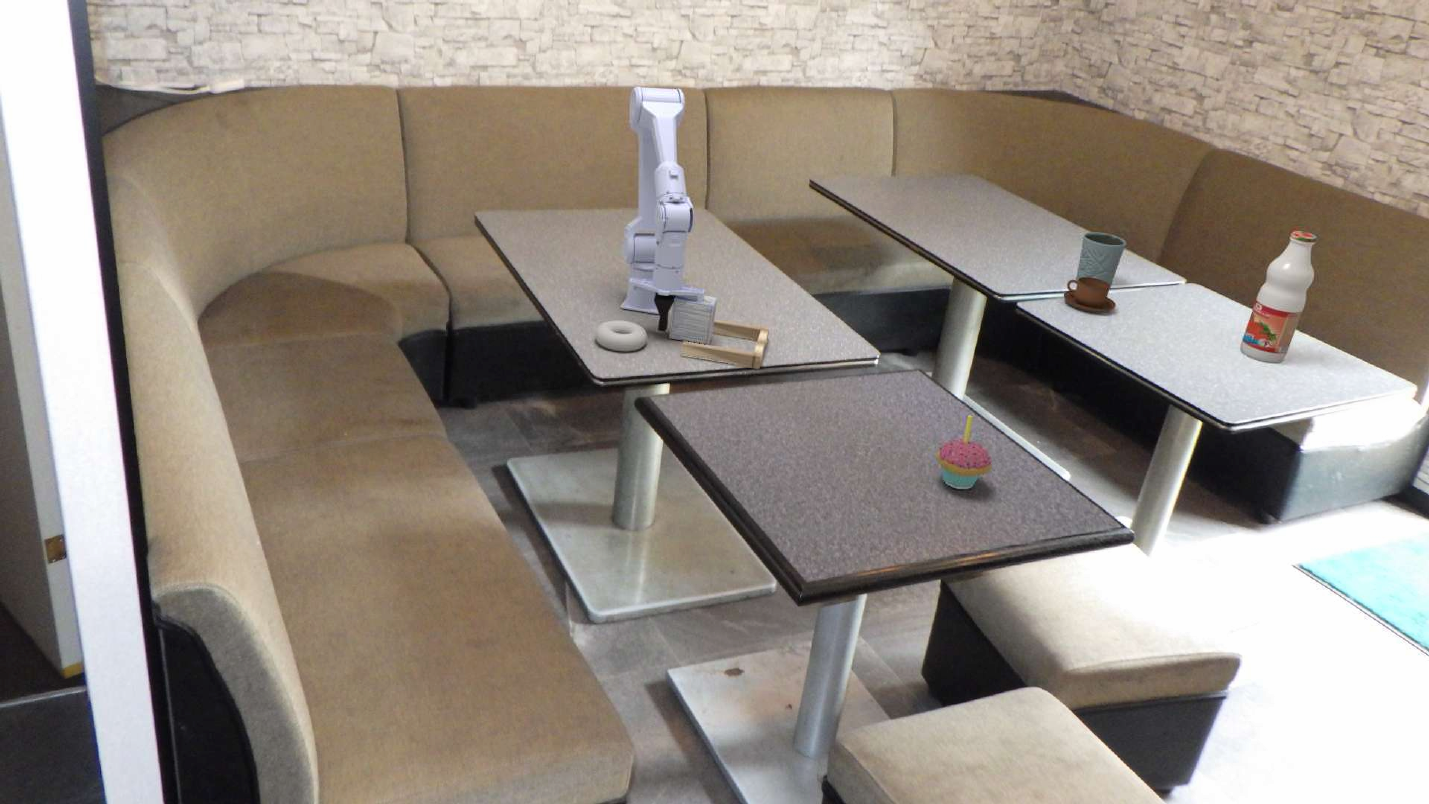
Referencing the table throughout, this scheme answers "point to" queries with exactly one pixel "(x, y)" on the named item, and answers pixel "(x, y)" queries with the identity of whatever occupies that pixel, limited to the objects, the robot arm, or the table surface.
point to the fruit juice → (1280, 301)
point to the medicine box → (693, 319)
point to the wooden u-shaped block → (730, 354)
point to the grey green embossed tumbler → (1100, 256)
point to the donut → (621, 335)
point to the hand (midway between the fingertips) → (662, 329)
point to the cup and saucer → (1090, 295)
